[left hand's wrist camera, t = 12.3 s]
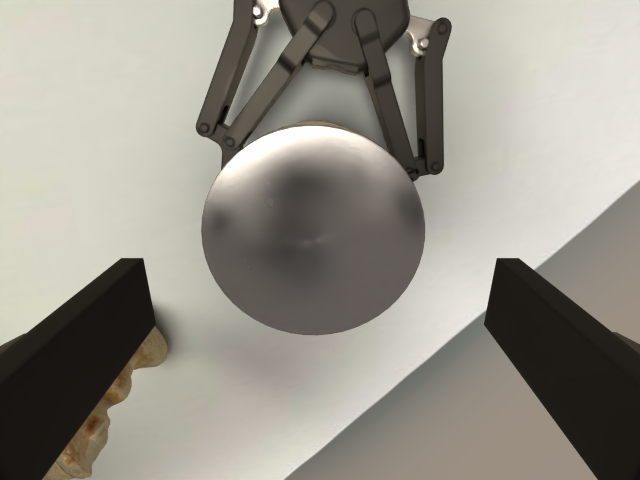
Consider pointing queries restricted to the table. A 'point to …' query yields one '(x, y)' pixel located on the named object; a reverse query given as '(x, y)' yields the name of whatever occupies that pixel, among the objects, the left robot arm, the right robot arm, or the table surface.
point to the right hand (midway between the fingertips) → (306, 244)
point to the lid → (313, 229)
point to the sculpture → (105, 414)
